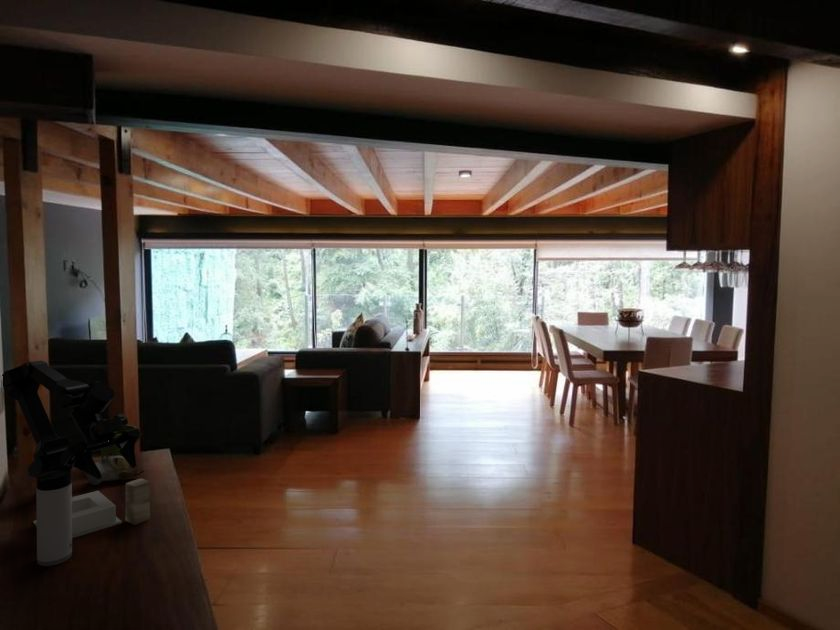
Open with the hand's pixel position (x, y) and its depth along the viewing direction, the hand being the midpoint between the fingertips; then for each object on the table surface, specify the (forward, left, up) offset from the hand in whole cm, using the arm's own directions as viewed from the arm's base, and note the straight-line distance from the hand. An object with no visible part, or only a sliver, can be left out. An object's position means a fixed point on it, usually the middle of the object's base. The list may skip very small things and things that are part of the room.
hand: (118, 472), depth 131 cm
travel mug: (+15, -14, -12) cm, 23 cm away
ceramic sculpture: (-28, +2, -12) cm, 31 cm away
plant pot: (-43, +4, -12) cm, 45 cm away
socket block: (-1, -9, -12) cm, 15 cm away
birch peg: (+4, +4, -12) cm, 13 cm away
